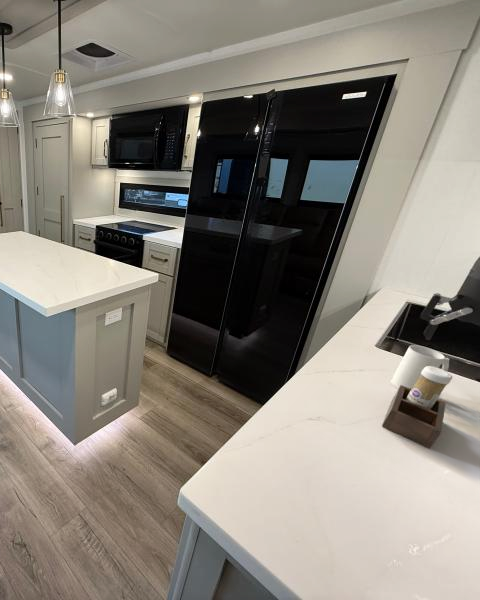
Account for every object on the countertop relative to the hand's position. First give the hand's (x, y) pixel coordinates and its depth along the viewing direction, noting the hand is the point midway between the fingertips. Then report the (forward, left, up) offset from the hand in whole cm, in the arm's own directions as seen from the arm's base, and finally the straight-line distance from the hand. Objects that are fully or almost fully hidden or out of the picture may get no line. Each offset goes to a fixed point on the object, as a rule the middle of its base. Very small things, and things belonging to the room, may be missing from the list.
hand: (455, 346), depth 68 cm
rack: (+2, +3, -20) cm, 21 cm away
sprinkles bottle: (0, 0, -21) cm, 21 cm away
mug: (-8, -13, -21) cm, 26 cm away
